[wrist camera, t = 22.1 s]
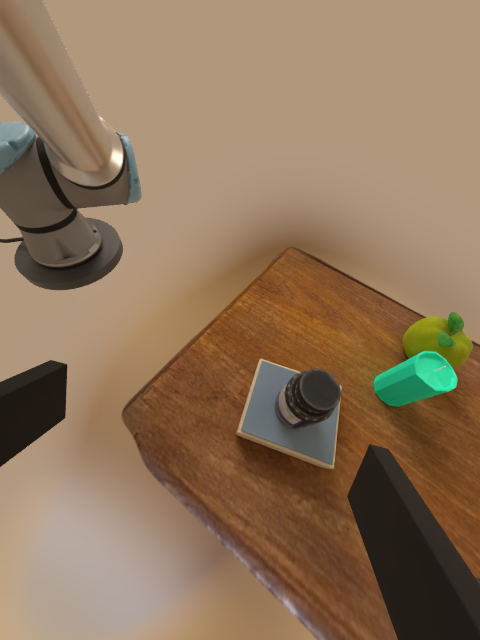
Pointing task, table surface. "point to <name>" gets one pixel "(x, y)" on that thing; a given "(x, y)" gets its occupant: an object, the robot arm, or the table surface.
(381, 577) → the robot arm
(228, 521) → the table surface
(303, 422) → the pill bottle
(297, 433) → the blue topped tan slab
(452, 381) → the candle
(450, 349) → the fruit
